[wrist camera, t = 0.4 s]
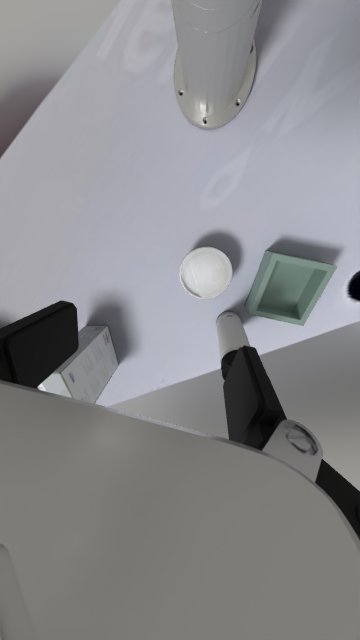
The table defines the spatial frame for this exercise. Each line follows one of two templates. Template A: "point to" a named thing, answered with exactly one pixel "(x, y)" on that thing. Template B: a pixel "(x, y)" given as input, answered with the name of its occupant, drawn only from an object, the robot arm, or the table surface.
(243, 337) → the travel mug
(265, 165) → the table surface
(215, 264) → the ramekin
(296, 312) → the tray
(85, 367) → the hard drive box
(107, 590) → the robot arm
